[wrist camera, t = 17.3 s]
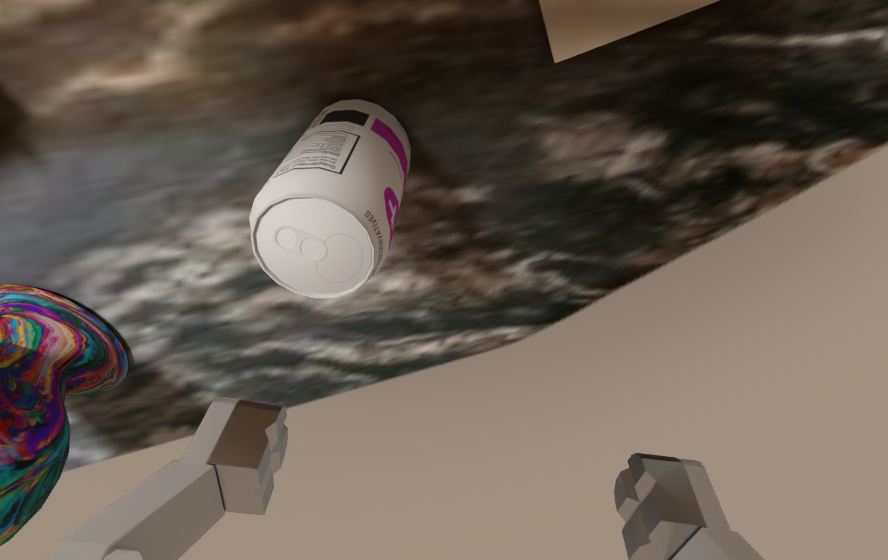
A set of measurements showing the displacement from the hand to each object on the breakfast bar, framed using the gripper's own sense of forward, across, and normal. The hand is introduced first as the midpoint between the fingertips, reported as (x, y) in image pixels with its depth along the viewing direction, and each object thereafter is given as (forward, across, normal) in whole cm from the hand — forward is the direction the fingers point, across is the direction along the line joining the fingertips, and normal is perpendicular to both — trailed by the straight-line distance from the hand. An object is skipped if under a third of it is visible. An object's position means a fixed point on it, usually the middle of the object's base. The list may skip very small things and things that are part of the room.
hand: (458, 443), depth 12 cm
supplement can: (+31, +8, +7) cm, 33 cm away
